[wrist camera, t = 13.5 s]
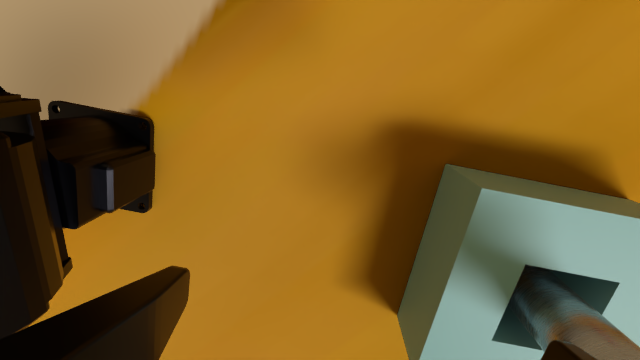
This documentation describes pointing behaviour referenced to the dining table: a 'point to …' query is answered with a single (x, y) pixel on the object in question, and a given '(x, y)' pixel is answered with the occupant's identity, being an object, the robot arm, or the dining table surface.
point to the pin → (566, 317)
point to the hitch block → (514, 263)
